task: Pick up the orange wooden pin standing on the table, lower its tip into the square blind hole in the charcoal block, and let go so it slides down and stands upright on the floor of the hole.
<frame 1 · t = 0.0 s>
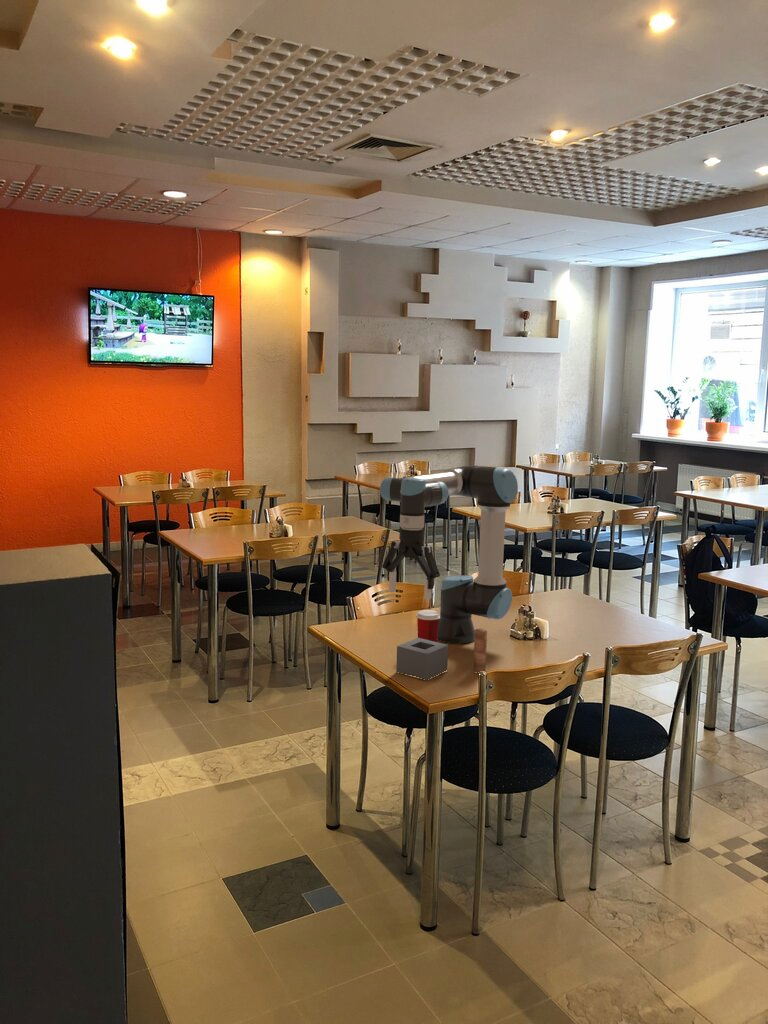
hand: (409, 595, 267), 28 cm above the table, tool pointing down, fingers open, 13 cm apart
socket block: (421, 672, 280), on the table
coffee cup: (426, 655, 298), on the table
pin: (479, 671, 282), on the table
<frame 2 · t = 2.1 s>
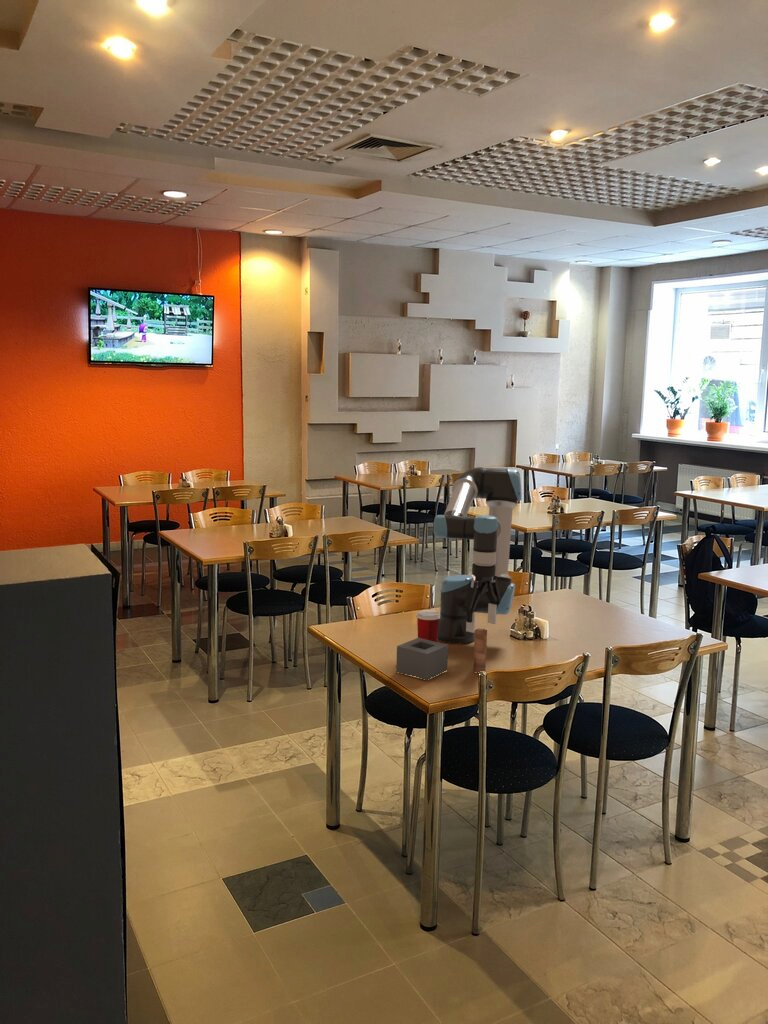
hand: (481, 627, 279), 15 cm above the table, tool pointing down, fingers open, 13 cm apart
nothing on the table moved.
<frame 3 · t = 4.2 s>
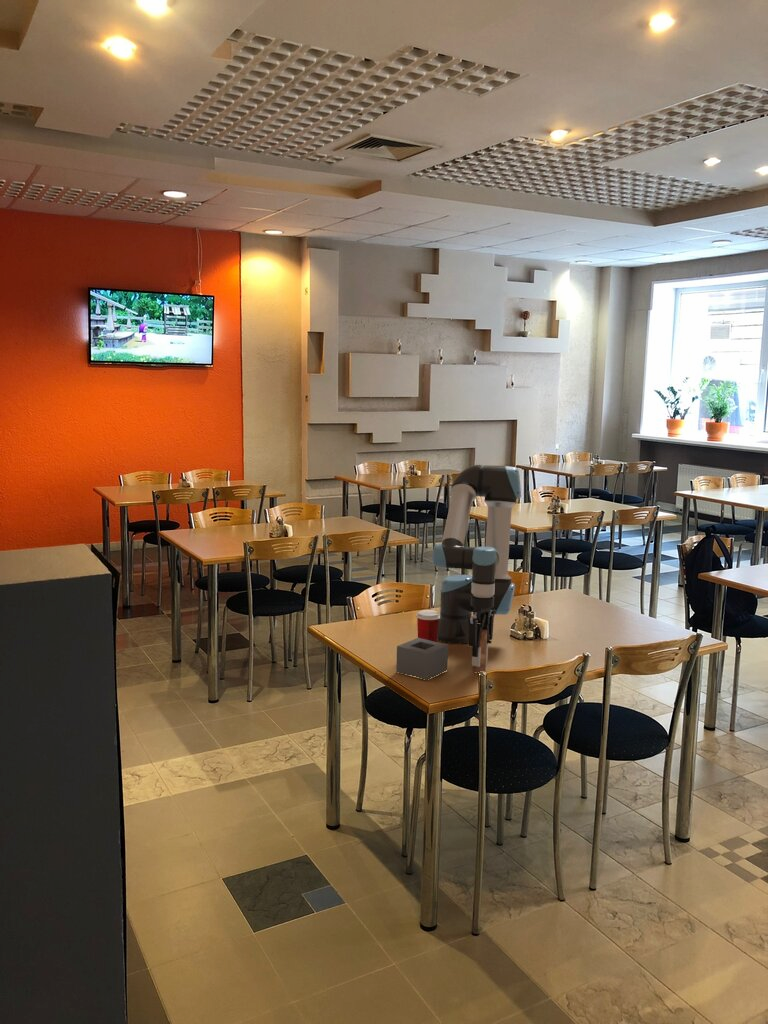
hand: (479, 663, 282), 3 cm above the table, tool pointing down, fingers closed on pin, 4 cm apart
pin: (479, 671, 282), on the table, touching gripper
everything else where it was.
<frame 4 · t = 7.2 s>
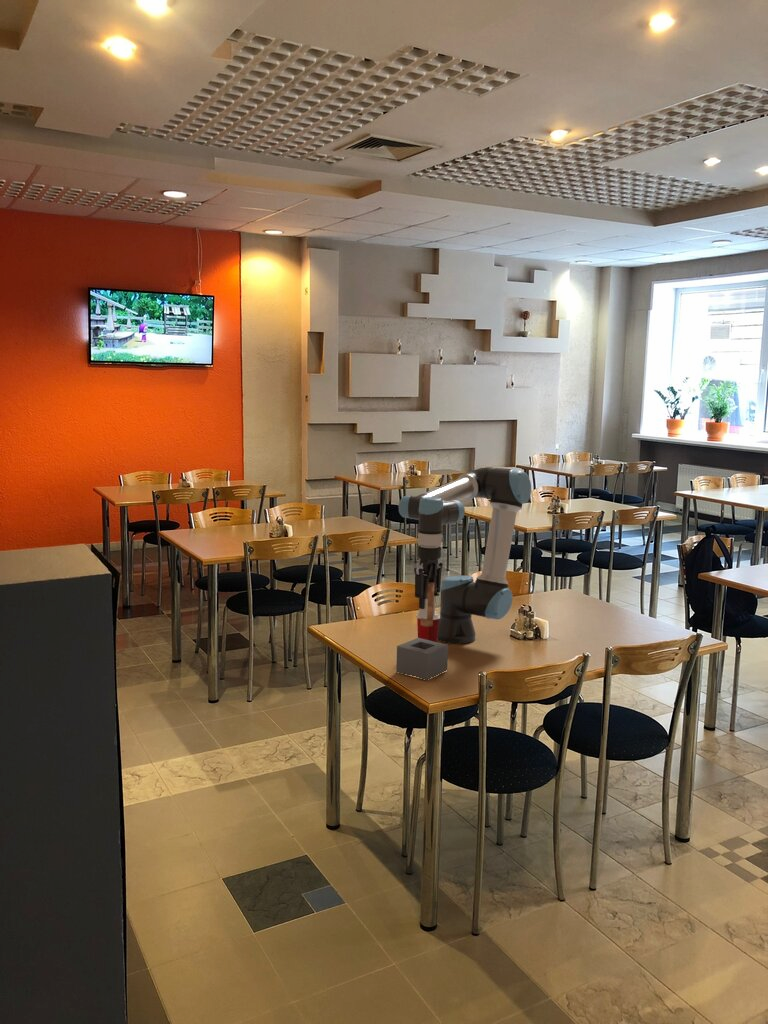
hand: (426, 616, 277), 19 cm above the table, tool pointing down, fingers closed on pin, 4 cm apart
pin: (426, 624, 277), point 16 cm above the table, touching gripper
everything else where it was.
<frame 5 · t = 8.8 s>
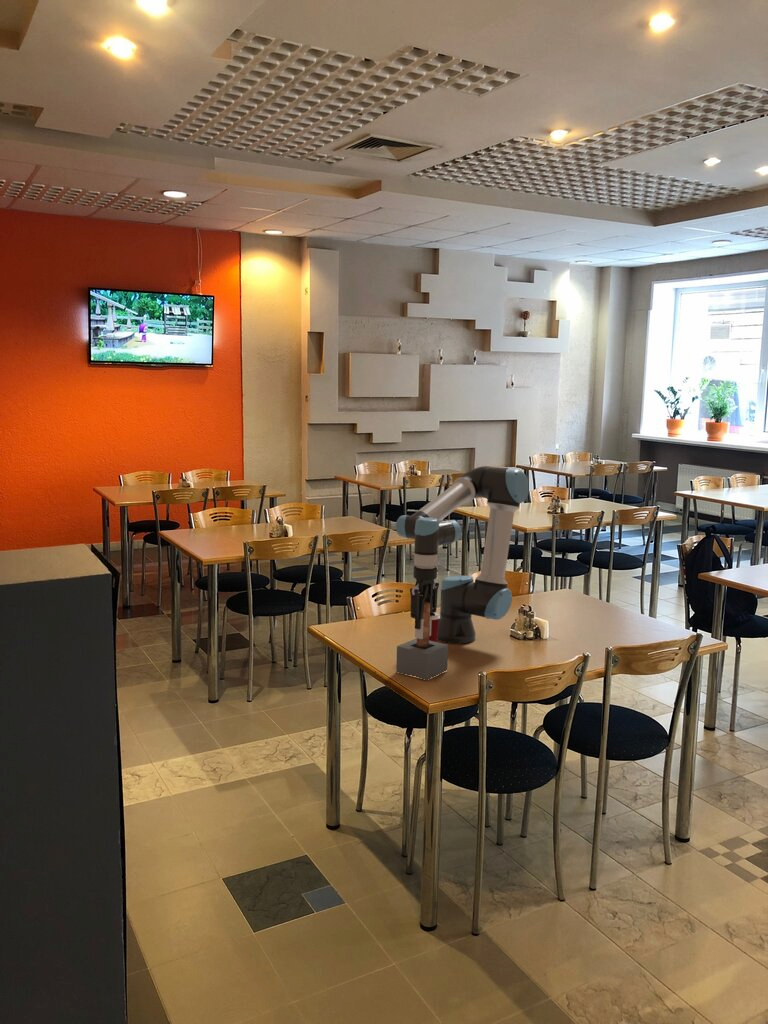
hand: (422, 636, 278), 12 cm above the table, tool pointing down, fingers closed on pin, 4 cm apart
pin: (422, 645, 278), point 9 cm above the table, touching gripper
everything else where it was.
when the fingers open (11 cm above the table, at t = 10.1 s): pin drops 4 cm, resting on socket block.
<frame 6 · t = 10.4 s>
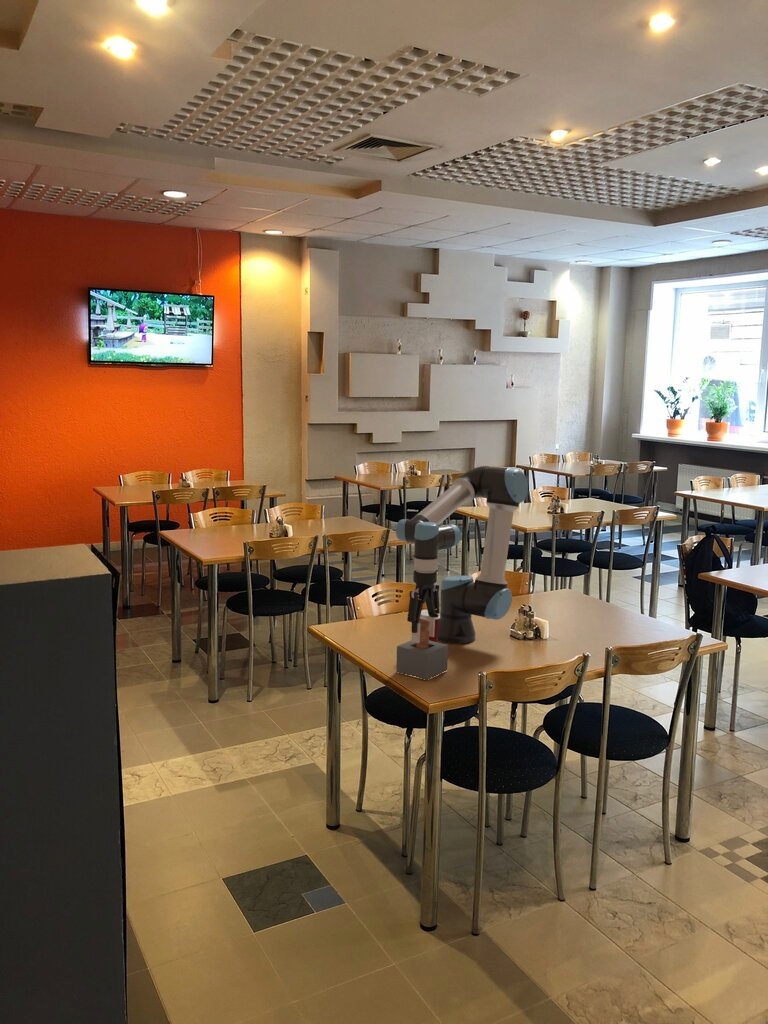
hand: (422, 639, 278), 11 cm above the table, tool pointing down, fingers open, 8 cm apart
pin: (422, 663, 279), point 3 cm above the table, touching socket block
everything else where it was.
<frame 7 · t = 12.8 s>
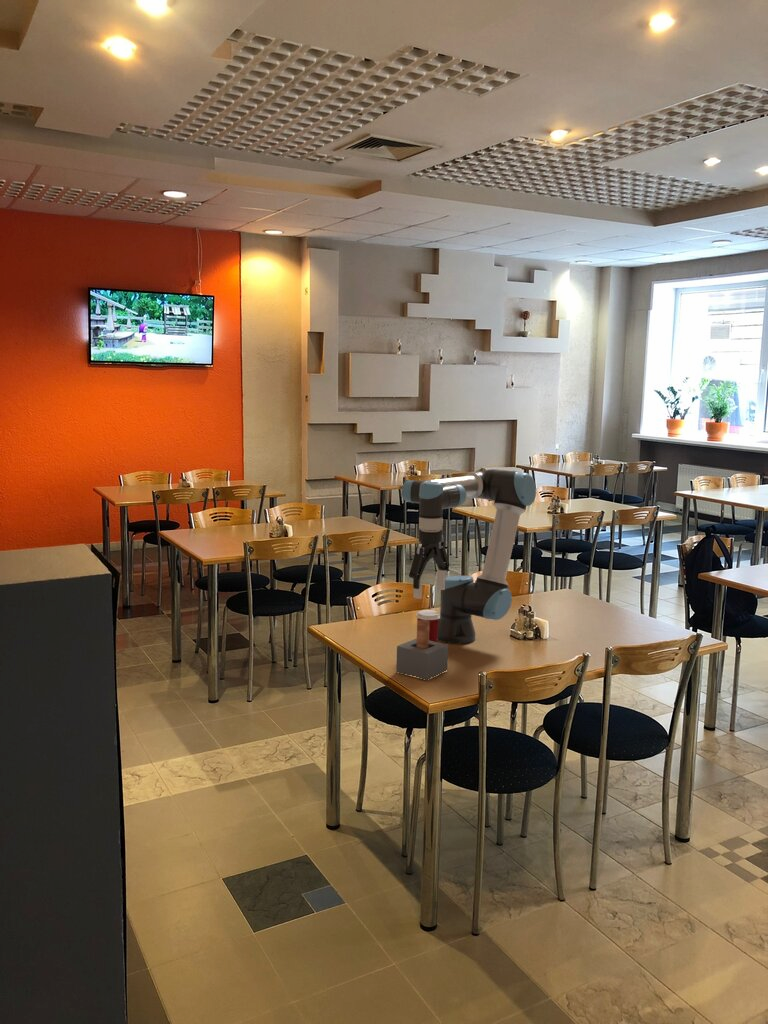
hand: (429, 593, 279), 26 cm above the table, tool pointing down, fingers open, 13 cm apart
nothing on the table moved.
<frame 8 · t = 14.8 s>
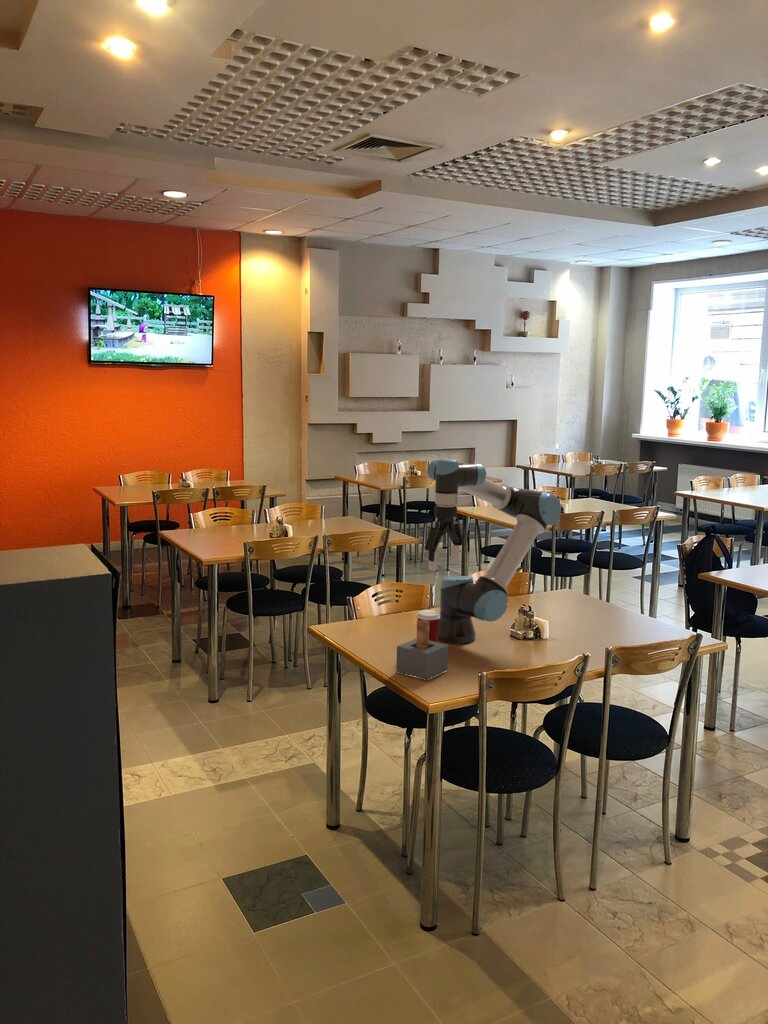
hand: (443, 567, 291), 32 cm above the table, tool pointing down, fingers open, 13 cm apart
nothing on the table moved.
at the end: pin 0.1 cm off-centre on the socket block, point 3.0 cm above the socket block's base; pin tilted 1°; the gripper is holding nothing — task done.
